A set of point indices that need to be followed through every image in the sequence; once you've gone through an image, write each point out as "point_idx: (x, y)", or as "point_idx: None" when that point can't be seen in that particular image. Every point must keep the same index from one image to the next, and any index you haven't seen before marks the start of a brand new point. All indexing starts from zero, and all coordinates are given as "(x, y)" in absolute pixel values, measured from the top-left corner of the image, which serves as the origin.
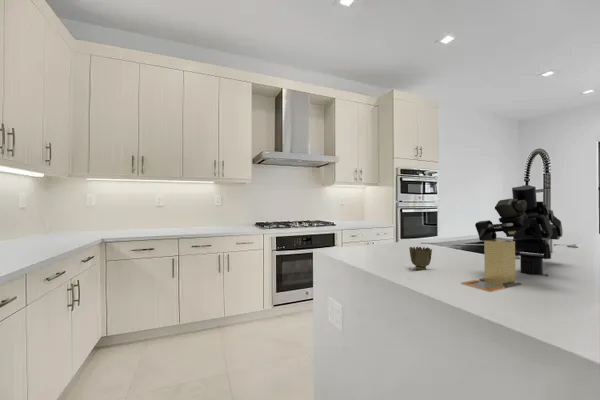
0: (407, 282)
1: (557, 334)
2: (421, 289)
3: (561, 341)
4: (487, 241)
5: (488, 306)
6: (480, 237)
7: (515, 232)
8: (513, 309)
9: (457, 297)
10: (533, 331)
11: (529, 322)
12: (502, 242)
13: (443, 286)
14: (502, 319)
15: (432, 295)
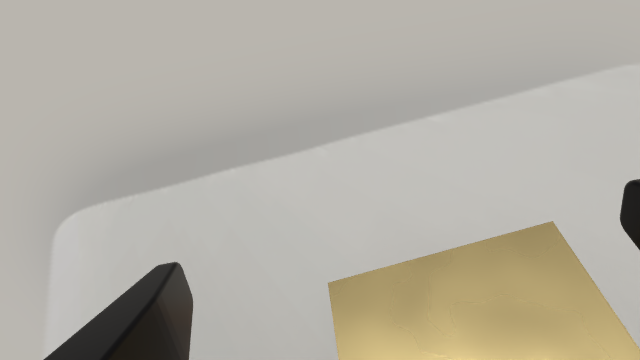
0: (587, 99)
1: (107, 240)
2: (480, 116)
3: (97, 222)
4: (510, 237)
5: (274, 215)
6: (629, 188)
7: (143, 299)
8: (225, 265)
9: (371, 178)
10: (143, 208)
11: (163, 235)
12: (352, 306)
13: (514, 193)
14: (206, 192)
15: (409, 125)
